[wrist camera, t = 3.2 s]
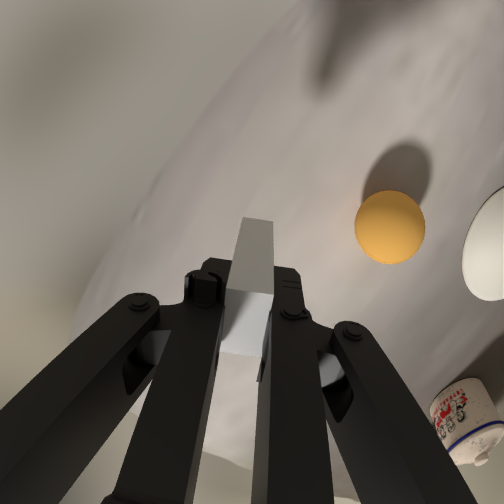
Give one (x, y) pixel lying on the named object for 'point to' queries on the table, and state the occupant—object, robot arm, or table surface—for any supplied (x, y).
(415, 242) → the ball
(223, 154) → the table surface
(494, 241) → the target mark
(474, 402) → the teacup with lid
